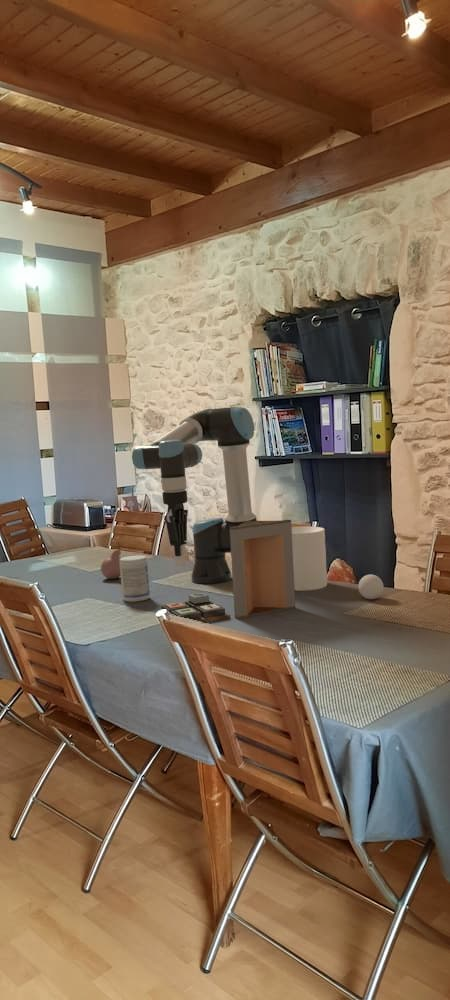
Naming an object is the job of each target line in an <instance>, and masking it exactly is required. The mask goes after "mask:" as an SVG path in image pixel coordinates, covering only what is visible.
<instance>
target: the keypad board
mask: <svg viewBox="0 0 450 1000" xmlns="http://www.w3.org/2000/svg"><path fill="white" fill-rule="evenodd" d="M180 602H181V603H182V604H184V605H186V607H180V608H174V609H169V608H167V607H166V606H165V605H166V604H162V605H161V610H162V609H167V610H168V611H169V612H170V613H171V614H174V615H176V616H180V617H184V618H189V619H193V620H197V621H201V622H204V623H203V624H206V623H211V622H217V621H223V620H229V619H231V614H229V613H228V612H226V609H225V607H224V606H221V605H219V604H217V603H214V602H213V601H211V600H209V602H203V603H197V604H194V603H192V602H190V601H189V600H186V601H184V602H183V601H180ZM211 604H215V605H217V606H219V607H221V608H220V609H214V610H208V611H204V610H202V609H200V608H199V606H205V605H211ZM186 608H192V609H193V610H195V611H196V613H190V614H184V615H179V614H177V613H176V612H175V610H180V609H186Z"/></svg>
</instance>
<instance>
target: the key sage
mask: <svg viewBox="0 0 450 1000" xmlns="http://www.w3.org/2000/svg"><path fill="white" fill-rule="evenodd" d="M175 612H176V613H177V614H179V615H184V614H190V613H196V611H195V610H193V609H192V608H186V609H180V610H175Z"/></svg>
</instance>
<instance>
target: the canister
mask: <svg viewBox="0 0 450 1000" xmlns="http://www.w3.org/2000/svg"><path fill="white" fill-rule="evenodd" d="M291 527H292V526H291ZM325 530H326V529H325V528H324V527H321V526H296V527H295V526H293V527H292V548H293V568H294V588H295V591H299V592H300V591H302V592H303V591H315V590H320V589H324V588H326V587H327V585H328V573H327V553H326V552H327V551H326V532H325Z"/></svg>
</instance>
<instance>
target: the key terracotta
mask: <svg viewBox="0 0 450 1000" xmlns="http://www.w3.org/2000/svg"><path fill="white" fill-rule="evenodd" d="M181 602H182V601H180V602H173V603H167V604H164V605H165V606H166V607H167V608H169V609H174V608H180V607H186V605H184V604H182V603H181Z"/></svg>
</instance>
